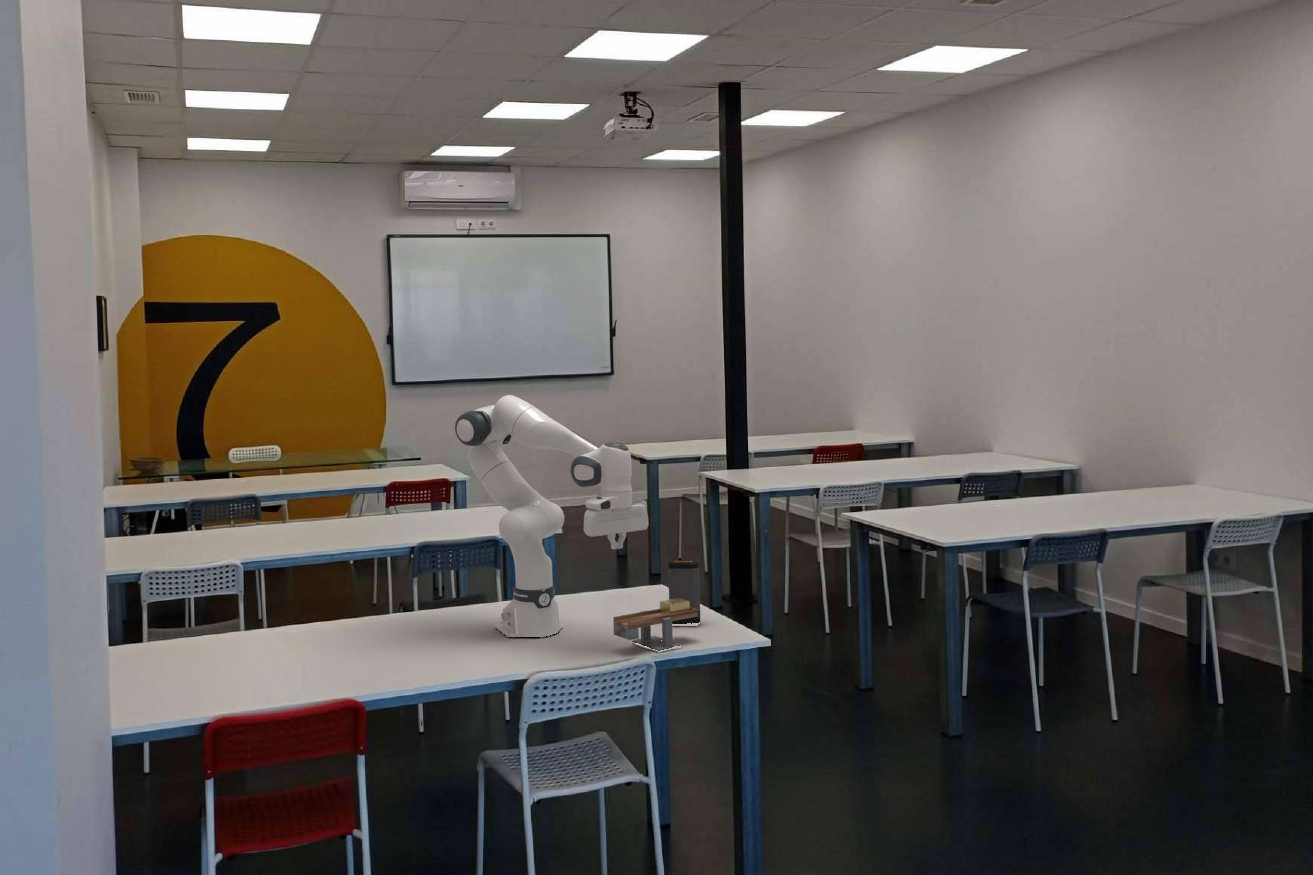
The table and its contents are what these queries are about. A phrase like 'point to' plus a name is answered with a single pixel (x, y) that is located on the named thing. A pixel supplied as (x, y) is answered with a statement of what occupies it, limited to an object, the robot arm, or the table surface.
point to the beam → (645, 621)
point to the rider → (674, 606)
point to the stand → (656, 641)
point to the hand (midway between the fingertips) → (616, 548)
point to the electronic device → (685, 585)
